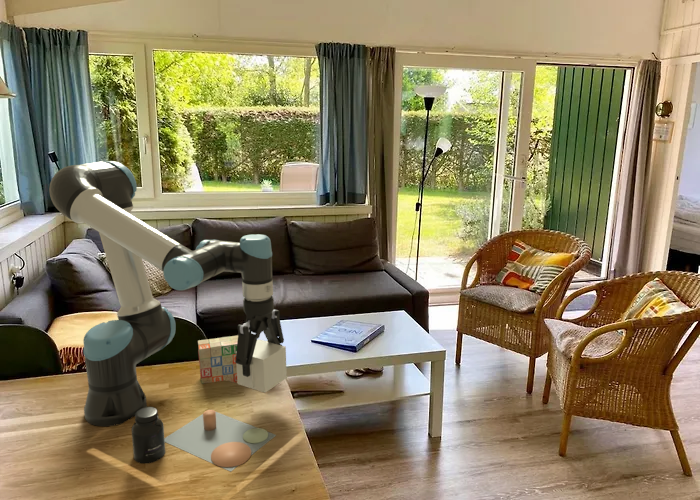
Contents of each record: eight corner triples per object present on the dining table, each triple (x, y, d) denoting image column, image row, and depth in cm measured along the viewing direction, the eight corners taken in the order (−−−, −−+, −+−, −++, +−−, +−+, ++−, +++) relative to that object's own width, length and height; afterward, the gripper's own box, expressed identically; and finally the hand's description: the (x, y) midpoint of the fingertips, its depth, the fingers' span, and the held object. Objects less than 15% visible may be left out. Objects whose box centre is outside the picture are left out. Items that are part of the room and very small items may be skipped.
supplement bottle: (155, 470, 122) (151, 422, 119) (128, 466, 123) (123, 418, 120) (171, 451, 128) (167, 405, 125) (145, 447, 130) (140, 402, 127)
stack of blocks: (271, 367, 170) (270, 331, 166) (275, 377, 164) (274, 339, 161) (199, 378, 163) (197, 339, 160) (201, 388, 157) (198, 348, 154)
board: (161, 444, 131) (160, 425, 130) (210, 413, 144) (209, 395, 143) (232, 477, 120) (231, 456, 119) (278, 440, 133) (277, 421, 132)
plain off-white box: (237, 383, 142) (235, 351, 139) (260, 369, 149) (258, 339, 147) (264, 392, 137) (263, 359, 135) (286, 378, 145) (285, 346, 142)
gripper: (240, 313, 126) (245, 400, 132) (296, 287, 144) (298, 365, 150) (216, 307, 130) (221, 392, 136) (273, 282, 148) (276, 358, 154)
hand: (261, 378), depth 143 cm, fingers closed on plain off-white box, 9 cm apart
